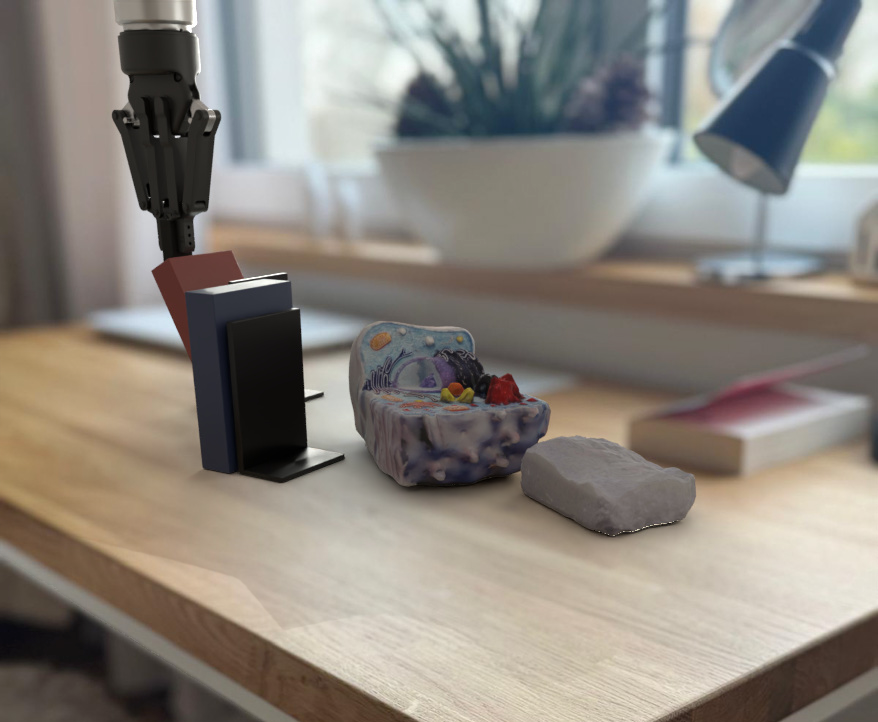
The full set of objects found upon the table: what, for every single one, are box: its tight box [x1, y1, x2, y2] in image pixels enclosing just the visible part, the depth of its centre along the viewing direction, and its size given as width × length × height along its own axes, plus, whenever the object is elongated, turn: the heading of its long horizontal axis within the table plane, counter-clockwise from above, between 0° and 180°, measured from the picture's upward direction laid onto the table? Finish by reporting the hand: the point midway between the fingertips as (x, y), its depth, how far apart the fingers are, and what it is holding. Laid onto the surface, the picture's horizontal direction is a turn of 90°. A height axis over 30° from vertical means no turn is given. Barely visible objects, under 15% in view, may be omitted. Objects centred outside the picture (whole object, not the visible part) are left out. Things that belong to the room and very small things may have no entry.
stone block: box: [520, 434, 697, 536], centre depth 78 cm, size 12×5×10 cm
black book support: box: [227, 307, 346, 484], centre depth 86 cm, size 5×8×12 cm, turn 147°
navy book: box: [185, 279, 294, 474], centre depth 88 cm, size 14×9×3 cm
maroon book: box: [150, 249, 245, 364], centre depth 111 cm, size 14×9×3 cm
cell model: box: [348, 320, 552, 488], centre depth 87 cm, size 13×11×20 cm
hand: (180, 284), depth 112 cm, fingers closed
